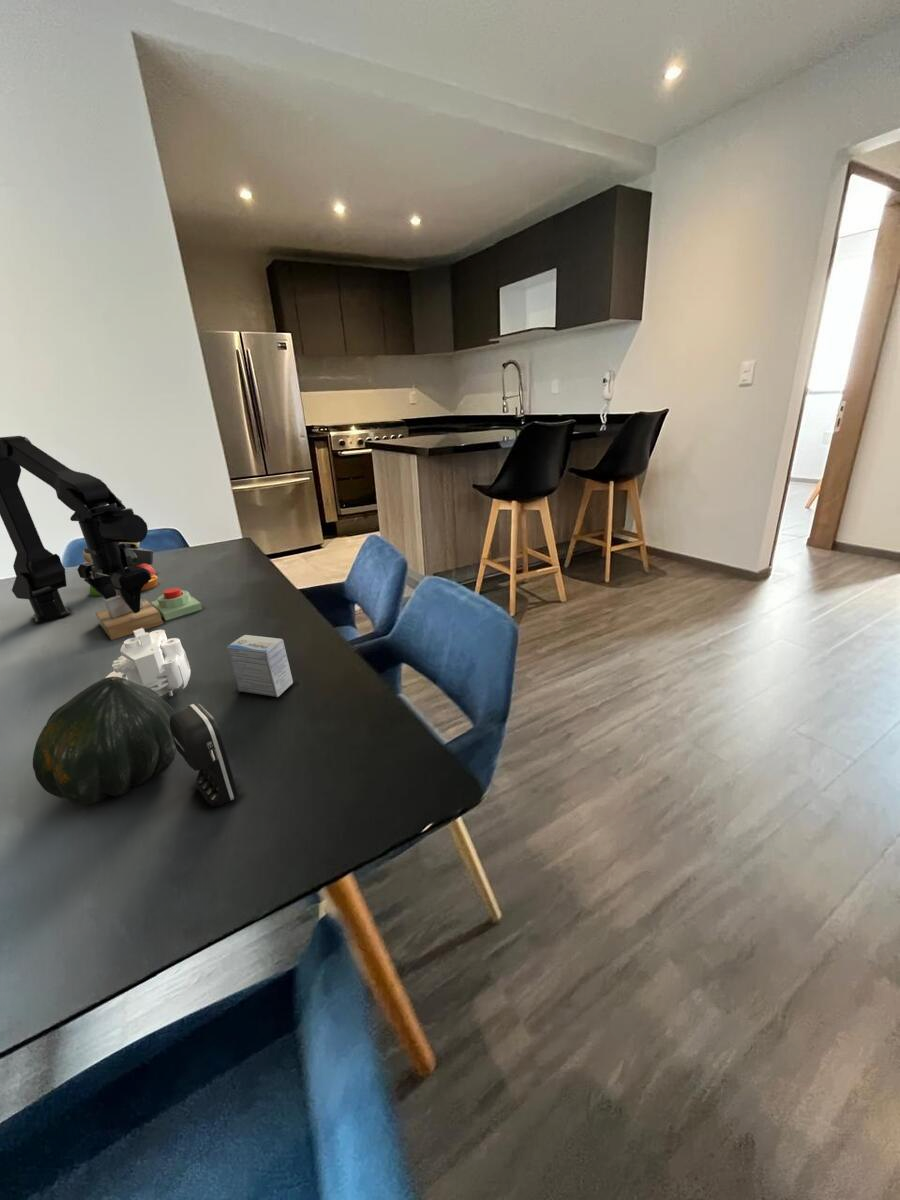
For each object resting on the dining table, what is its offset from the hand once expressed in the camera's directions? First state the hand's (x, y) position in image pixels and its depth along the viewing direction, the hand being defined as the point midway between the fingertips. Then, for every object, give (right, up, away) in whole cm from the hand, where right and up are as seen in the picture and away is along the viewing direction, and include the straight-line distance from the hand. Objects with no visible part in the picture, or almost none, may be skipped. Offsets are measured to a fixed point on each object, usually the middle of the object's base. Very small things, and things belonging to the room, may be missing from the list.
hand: (126, 609), depth 109 cm
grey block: (0, -1, 0) cm, 1 cm away
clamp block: (0, -3, +2) cm, 4 cm away
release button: (+6, +3, +7) cm, 10 cm away
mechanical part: (+24, -15, -28) cm, 39 cm away
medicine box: (+41, -13, -27) cm, 51 cm away
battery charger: (+43, -22, -48) cm, 68 cm away
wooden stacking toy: (-16, +7, +28) cm, 33 cm away
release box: (+7, 0, +8) cm, 11 cm away
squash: (+30, -21, -45) cm, 58 cm away
